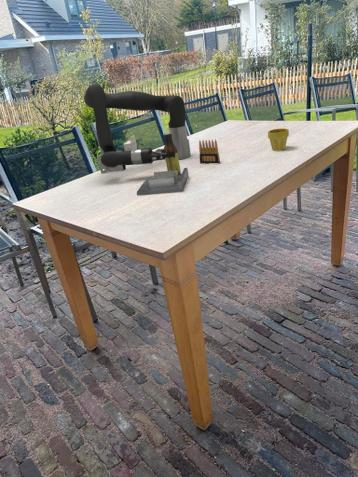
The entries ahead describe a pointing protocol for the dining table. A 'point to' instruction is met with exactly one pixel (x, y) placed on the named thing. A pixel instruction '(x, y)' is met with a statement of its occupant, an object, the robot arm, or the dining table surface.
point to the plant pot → (278, 138)
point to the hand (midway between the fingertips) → (176, 152)
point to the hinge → (109, 169)
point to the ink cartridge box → (130, 144)
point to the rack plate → (164, 182)
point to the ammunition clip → (208, 152)
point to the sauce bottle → (169, 147)
